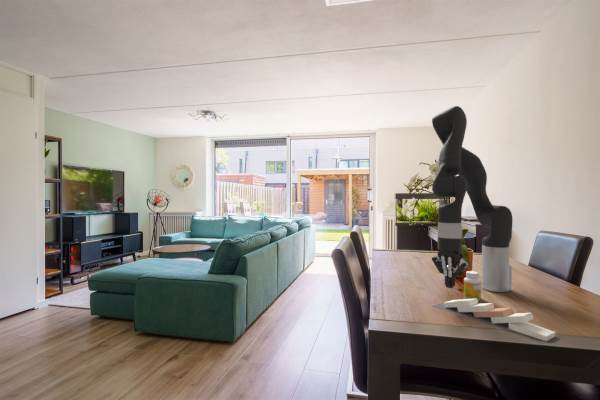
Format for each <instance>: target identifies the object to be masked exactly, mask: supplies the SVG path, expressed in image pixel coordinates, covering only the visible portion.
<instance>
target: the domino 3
mask: <svg viewBox="0 0 600 400" xmlns="http://www.w3.org/2000/svg"><path fill="white" fill-rule="evenodd" d="M473 313H474V317H505V316H508V315H511V314H513V313H514V311H513V308H512V307H497V308H496V307H494V309H491V310H489V311H486V312H473Z"/></svg>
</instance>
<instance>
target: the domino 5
mask: <svg viewBox="0 0 600 400" xmlns="http://www.w3.org/2000/svg"><path fill="white" fill-rule="evenodd" d="M509 329H511V331H514V332H517V333H520V334H523V335H527V336H530V337H532V338H534V339H535V338H536V339H539V340H542V341H545V342H547V341H549V340H551V339H553V338H555V337H556V331H554V330H550V329H547V328H546V327H542V326H539V325H536V324H533V323H530V322H529V321H527V322H524V323H509Z"/></svg>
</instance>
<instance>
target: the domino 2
mask: <svg viewBox="0 0 600 400" xmlns="http://www.w3.org/2000/svg"><path fill="white" fill-rule="evenodd" d="M494 308H495V305H494V303H493V302H487V303H486V302H485V303H481V302H480V303H478V304H475V305H472V306H467V307H457V309H458V312H486V311H489V310H491V309H494Z"/></svg>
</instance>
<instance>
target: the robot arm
mask: <svg viewBox="0 0 600 400" xmlns="http://www.w3.org/2000/svg"><path fill="white" fill-rule="evenodd" d="M467 121H468V120H467V115H466V113H465V111H464V110H463V108H462V107H461V106H458V105H455V106H451V107H449V108H448V109H446V110H443V111H441V112H439V113H437V114H435V115H434V116H433V117H432V118H431V124H432V127H433V129H434V132H435V134H436V135H437V137H438V138H439V140H440V141H441V143H442V145H443V146H442V147H441V150H440V153H439V157H438V169H437V173H436V175H435V177H434V179H433V182H432V186H431V188H432V189H431V191H432V193H433V195H434V196H435V197H436V198H455V199H454V200H453V201H452V202H450V203H446V204H445V203H444V204H441V205H439V206H438V208H437V211H438V213H437V215H438V216H437V218H438V221H437V223H438V224H437V250H438V252H437V255H436V256H433V257H431V261H432V262H433V264H434V266H435V267H436V269H437V271H438V273H439V274H442V275H443V276H444V285H445V287H446V288H448V289H453V288H454V287H455V286H456V278H457V277H460V276H461V275H462V274H463V273H464V272H465V271H467V269H468V267H470V262H469V261H468V262H467V261H466V260H465V259H464V255H463V226H462V211H463V210H462V209H463V203H464V199H465V196H466V194H467V196H468V198H469V201H470V202H471V204H472V207H473V208H472V209H473V211H474V213H475V216H476V219H477V221H478V223H479V224H480V225H481V226H482V227H484V228H488V229H489V231H490V232H489V234H488V235H487V236H484V237H483V238H482V239H481V255H482V256H481V266H482V267H481V268H482V269H481V272H482V273H481V279H482V280H481V286H482V287H481V289H484V290H486V291H490V292H494V293H495V292H496V293H507V292H510V291H513V290H512V289H513V287H512V286H513V285H512V284H513V283H512V280H513V279H512V273H513V272H512V269H513V268H512V266H511V265H510V242H511V240H512V237H513V214H512V211H511V209H510V208H509V207H507V206H505V205H494V204H492V202H491V200H490V199H489V196H488V194H487V182H488V176H487V175H488V174H487V171H486V168H485V166H484V165H483V163H482V160H481V159H480V157H479V156H477V155H476V154H475V153H473V152H472V151H470V150H468V149H466V148H465V147H463V143H464V139H465V135H466V131H467V124H468V123H467Z"/></svg>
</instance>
